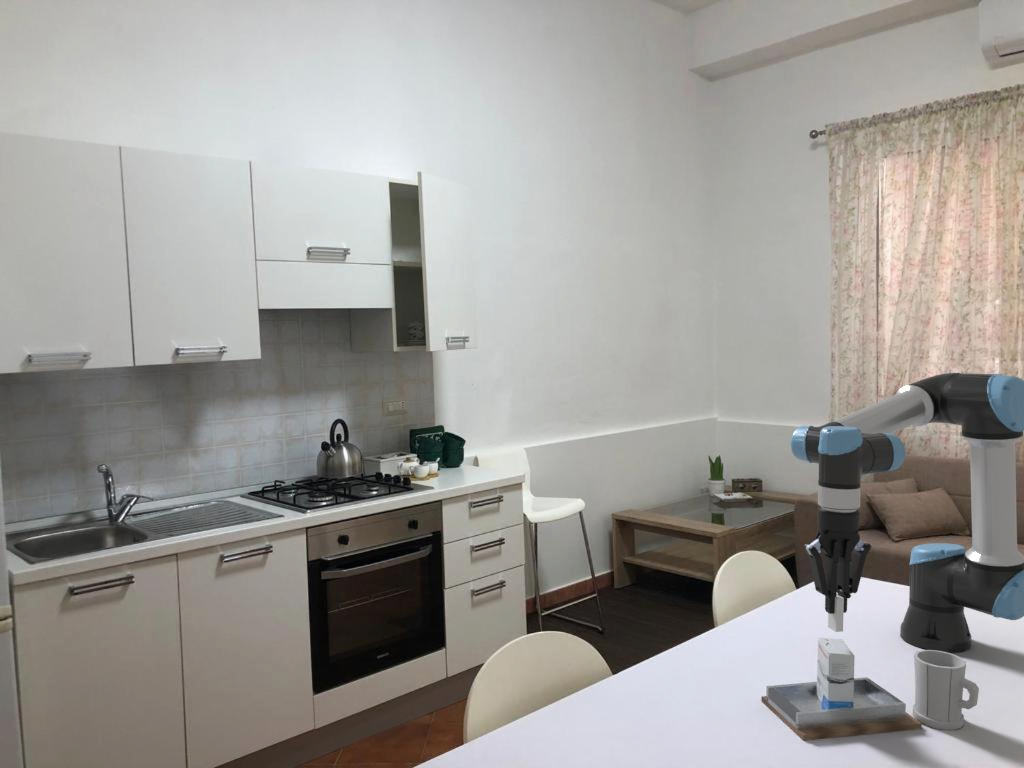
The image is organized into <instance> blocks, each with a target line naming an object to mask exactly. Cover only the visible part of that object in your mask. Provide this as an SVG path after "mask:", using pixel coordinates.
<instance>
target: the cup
mask: <svg viewBox="0 0 1024 768" xmlns="http://www.w3.org/2000/svg"><path fill="white" fill-rule="evenodd" d="M913 661H914V679H915V680H914V683H915V684H914V685H915V687H914V689H915V698H914V702H915V703H914V704H913V706H912V717H913V718H915V719H916V720H918V721H919V722H921V723H922V725H925V726H927V727H930V728H932V729H938V730H944V731H953V730H955V731H956V730H958V729H960V728H962V727H963V726H964V724H965V715H964V713H962V709H965V710H970V709H973V708H974V707H976V706H977V705H978V701H979V700H978V699H979V692H980V688H979V686H978V685H977V684H976V682H973V681H972V680H970V679H967V678H965V676H966V669H967V662H966V661H965V660H964V659H963V658H962V657H961V656H959V655H957V654H953V653H952V652H943V651H937V650H929V649H924V650H923V649H922V650H918V651H916V652H914V654H913ZM964 689H966V690H967V692H968V694H969V696H968V700H964V699H963V696H964V695H963V694H964V693H963V692H964Z"/></svg>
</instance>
